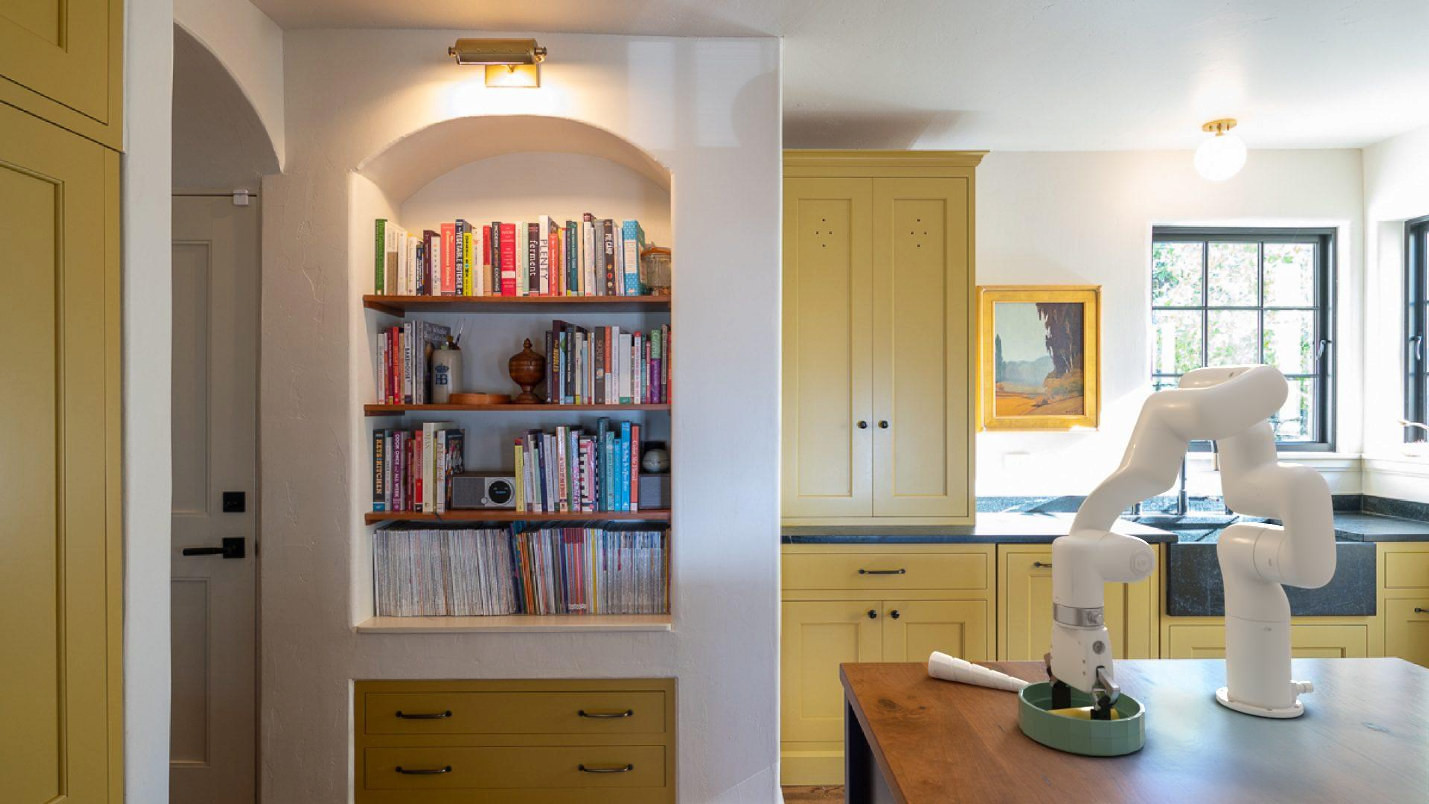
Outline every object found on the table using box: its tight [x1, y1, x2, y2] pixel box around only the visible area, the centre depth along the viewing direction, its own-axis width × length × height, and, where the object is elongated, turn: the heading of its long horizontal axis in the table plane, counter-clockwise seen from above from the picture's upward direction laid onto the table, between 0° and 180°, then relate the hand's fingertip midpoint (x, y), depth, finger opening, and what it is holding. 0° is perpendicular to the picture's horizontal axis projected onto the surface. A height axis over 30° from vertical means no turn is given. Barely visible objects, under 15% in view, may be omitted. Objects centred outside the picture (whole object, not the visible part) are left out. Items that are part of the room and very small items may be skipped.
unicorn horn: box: [927, 651, 1032, 693], centre depth 150 cm, size 5×24×5 cm, turn 52°
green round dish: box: [1017, 680, 1146, 757], centre depth 129 cm, size 18×18×6 cm
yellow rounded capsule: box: [1048, 706, 1119, 720], centre depth 129 cm, size 14×4×4 cm, turn 102°
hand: (1080, 722), depth 129 cm, fingers open, 9 cm apart
